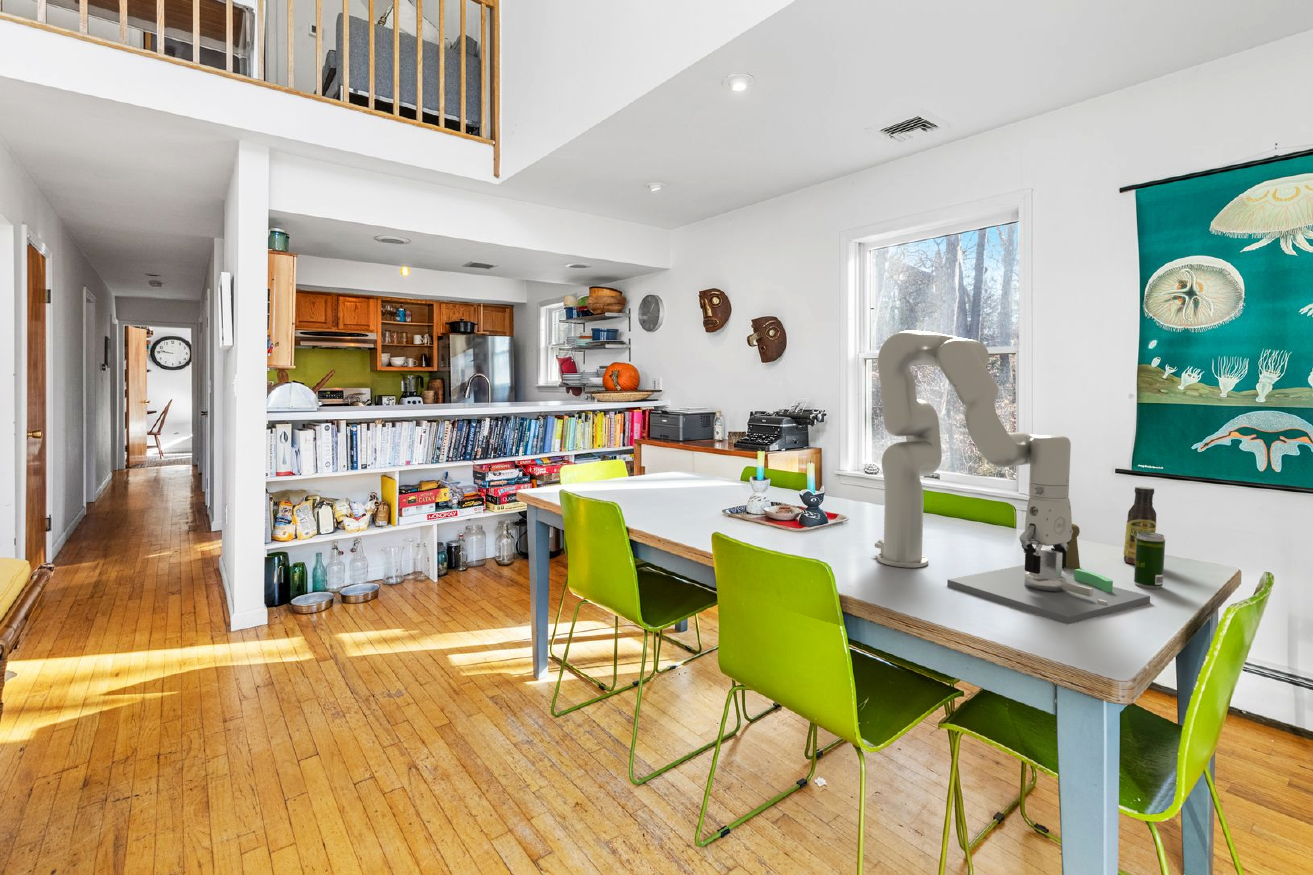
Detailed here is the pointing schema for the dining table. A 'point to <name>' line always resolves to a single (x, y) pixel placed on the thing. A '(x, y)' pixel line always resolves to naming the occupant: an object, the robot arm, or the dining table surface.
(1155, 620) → the dining table surface
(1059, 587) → the knob
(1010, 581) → the dial board
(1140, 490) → the sauce bottle
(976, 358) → the robot arm
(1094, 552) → the dining table surface
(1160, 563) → the beer can
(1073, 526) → the cork
